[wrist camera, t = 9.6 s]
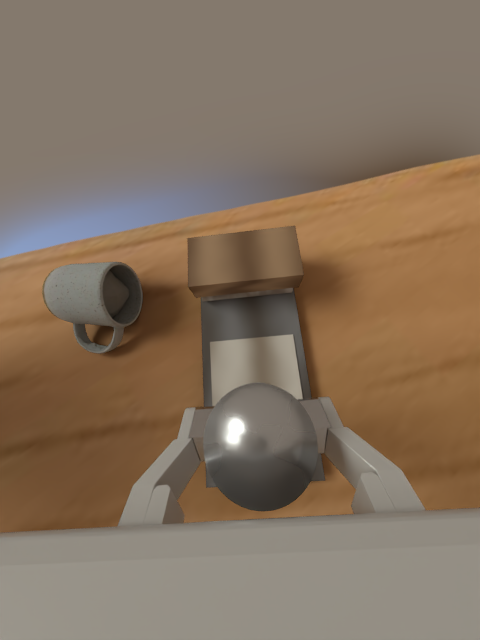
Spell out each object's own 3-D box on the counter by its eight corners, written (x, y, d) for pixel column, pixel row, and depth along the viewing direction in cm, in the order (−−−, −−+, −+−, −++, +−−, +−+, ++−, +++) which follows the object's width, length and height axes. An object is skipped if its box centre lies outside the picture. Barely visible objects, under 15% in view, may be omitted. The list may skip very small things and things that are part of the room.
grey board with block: (208, 482, 23) (190, 520, 17) (201, 268, 30) (187, 238, 24) (321, 475, 22) (347, 512, 16) (286, 258, 30) (295, 225, 23)
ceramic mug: (93, 280, 31) (42, 249, 24) (147, 280, 30) (111, 249, 23) (76, 353, 28) (12, 344, 21) (134, 355, 28) (90, 347, 20)
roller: (232, 445, 15) (205, 514, 7) (228, 384, 16) (201, 387, 8) (290, 441, 14) (328, 507, 7) (282, 380, 16) (307, 378, 8)
